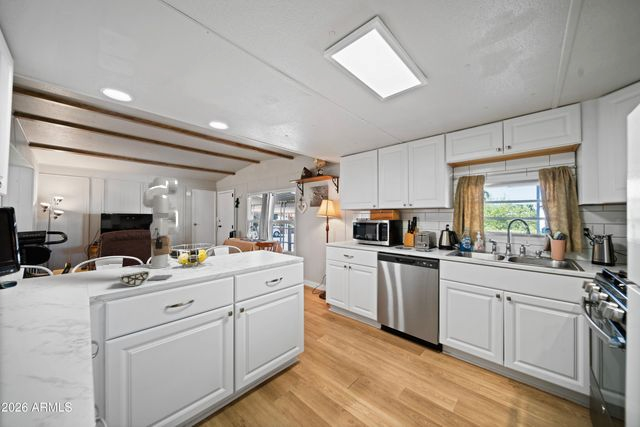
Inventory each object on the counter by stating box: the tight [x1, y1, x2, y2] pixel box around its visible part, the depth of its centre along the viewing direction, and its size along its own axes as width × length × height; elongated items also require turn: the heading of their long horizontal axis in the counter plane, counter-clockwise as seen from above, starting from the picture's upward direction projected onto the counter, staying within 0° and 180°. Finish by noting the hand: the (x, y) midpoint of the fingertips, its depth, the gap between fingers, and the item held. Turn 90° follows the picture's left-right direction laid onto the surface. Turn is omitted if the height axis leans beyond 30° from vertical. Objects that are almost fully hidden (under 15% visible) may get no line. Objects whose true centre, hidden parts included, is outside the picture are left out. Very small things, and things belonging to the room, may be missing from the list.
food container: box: [118, 270, 150, 287], centre depth 122 cm, size 12×6×10 cm
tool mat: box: [146, 274, 173, 282], centre depth 133 cm, size 9×9×1 cm
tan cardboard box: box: [150, 235, 173, 256], centre depth 133 cm, size 4×8×10 cm, turn 103°
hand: (160, 248), depth 133 cm, fingers closed on tan cardboard box, 3 cm apart
